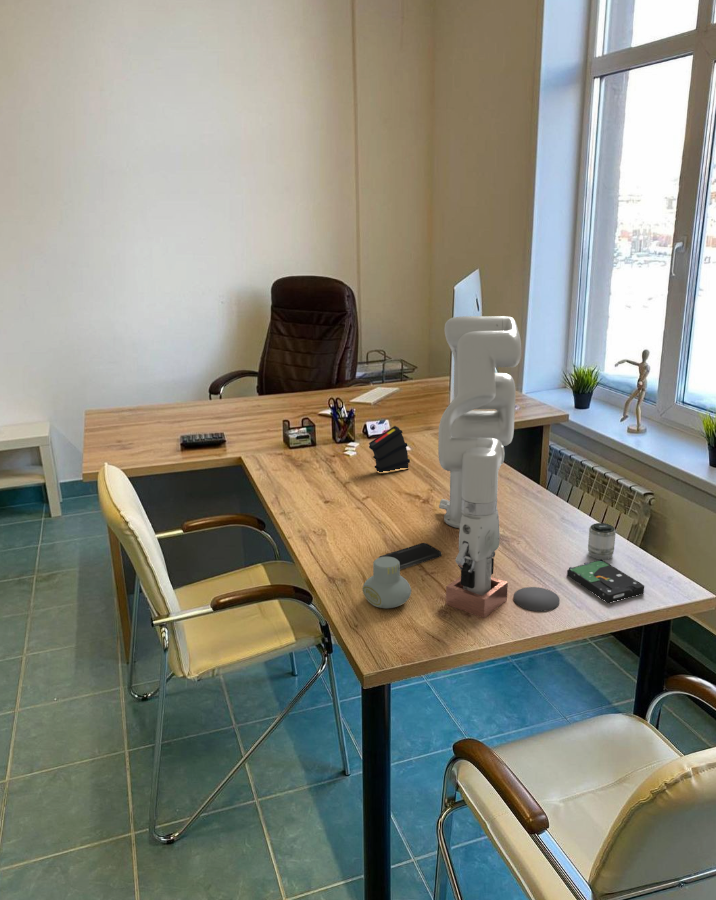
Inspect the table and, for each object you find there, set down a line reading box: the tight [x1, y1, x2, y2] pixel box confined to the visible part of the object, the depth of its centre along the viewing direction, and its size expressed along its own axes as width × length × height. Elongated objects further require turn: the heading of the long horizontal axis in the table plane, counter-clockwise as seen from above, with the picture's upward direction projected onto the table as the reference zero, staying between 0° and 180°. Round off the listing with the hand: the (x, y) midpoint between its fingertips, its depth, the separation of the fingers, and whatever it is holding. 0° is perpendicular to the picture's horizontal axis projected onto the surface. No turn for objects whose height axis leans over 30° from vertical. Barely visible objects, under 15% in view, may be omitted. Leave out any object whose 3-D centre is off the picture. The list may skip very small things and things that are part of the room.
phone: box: [378, 542, 442, 571], centre depth 193 cm, size 8×1×15 cm
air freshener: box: [362, 556, 412, 609], centre depth 171 cm, size 11×8×10 cm
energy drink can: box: [463, 550, 493, 596], centre depth 169 cm, size 6×6×15 cm
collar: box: [445, 575, 509, 619], centre depth 170 cm, size 10×10×4 cm
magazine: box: [368, 425, 411, 472], centre depth 252 cm, size 4×13×15 cm, turn 114°
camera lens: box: [587, 522, 617, 561], centre depth 190 cm, size 6×6×8 cm
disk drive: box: [566, 559, 645, 604], centre depth 177 cm, size 10×3×15 cm
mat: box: [513, 586, 561, 612], centre depth 171 cm, size 10×10×1 cm
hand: (477, 579), depth 169 cm, fingers open, 7 cm apart
